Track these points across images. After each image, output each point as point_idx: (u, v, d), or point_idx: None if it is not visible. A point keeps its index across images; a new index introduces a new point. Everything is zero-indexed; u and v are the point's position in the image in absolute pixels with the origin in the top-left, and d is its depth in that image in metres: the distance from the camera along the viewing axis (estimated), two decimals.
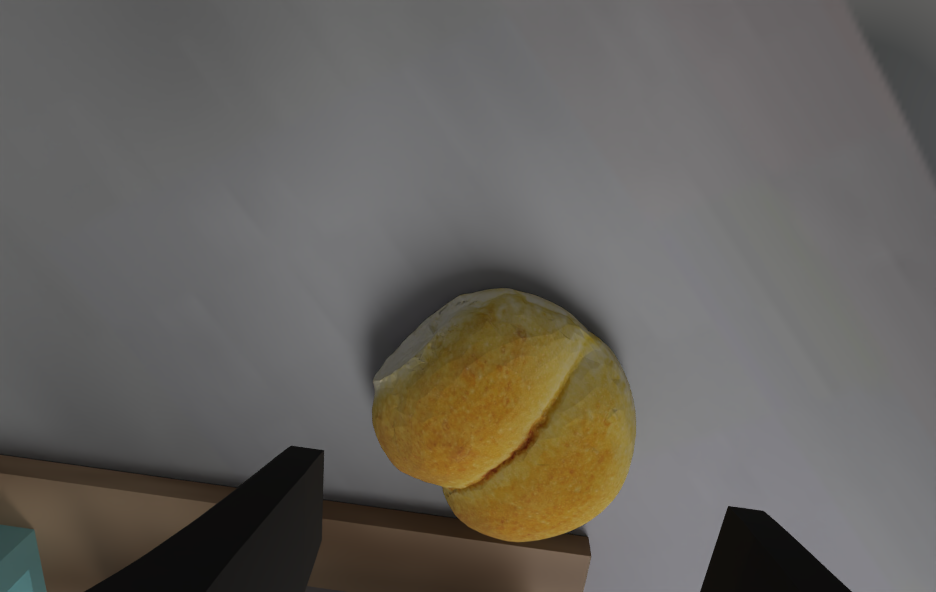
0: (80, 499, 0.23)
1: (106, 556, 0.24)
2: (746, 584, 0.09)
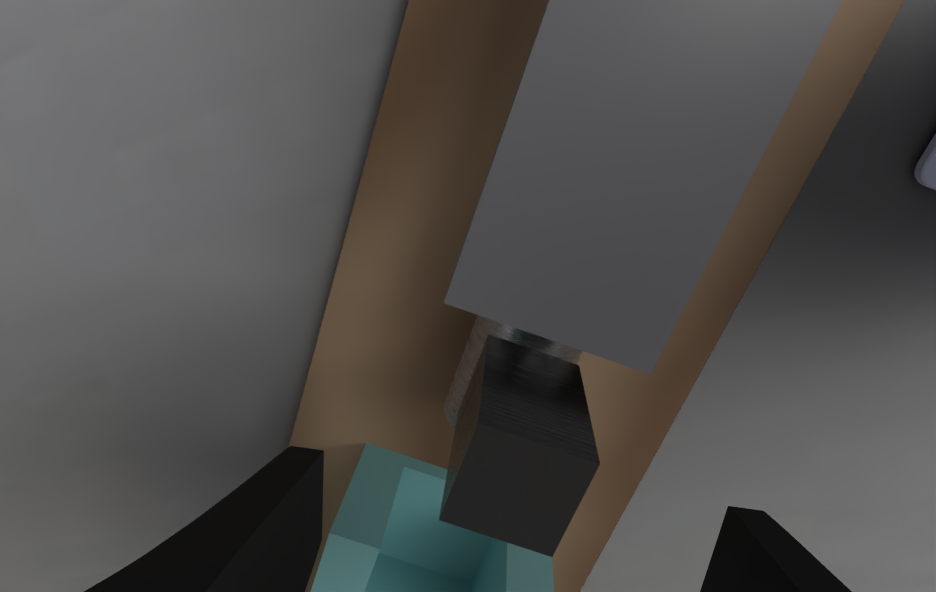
0: (330, 374, 0.20)
1: (414, 382, 0.20)
2: (746, 584, 0.09)
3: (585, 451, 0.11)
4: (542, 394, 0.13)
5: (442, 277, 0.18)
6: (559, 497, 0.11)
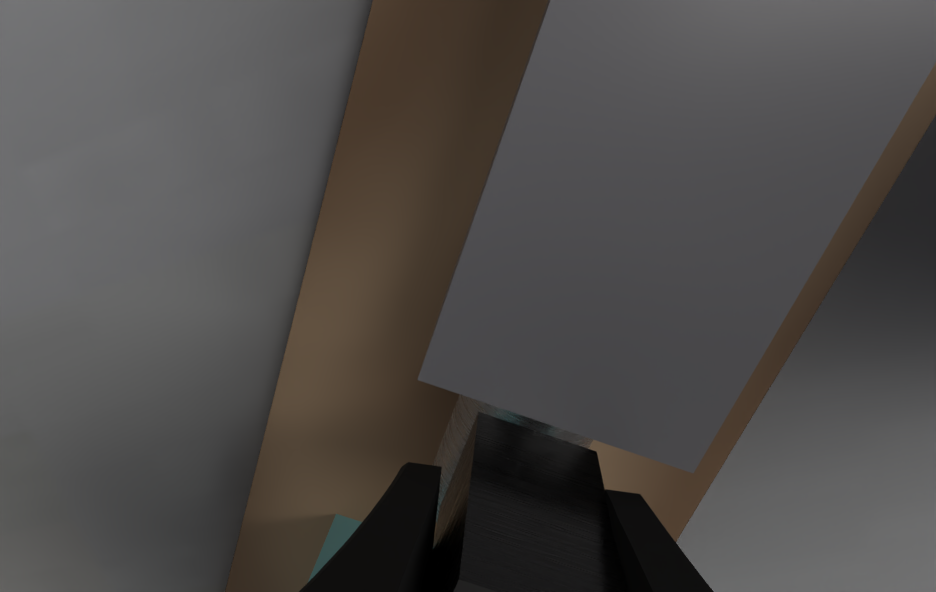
0: (291, 434, 0.17)
1: (391, 445, 0.16)
2: None
3: None
4: (550, 511, 0.09)
5: (425, 321, 0.15)
6: None
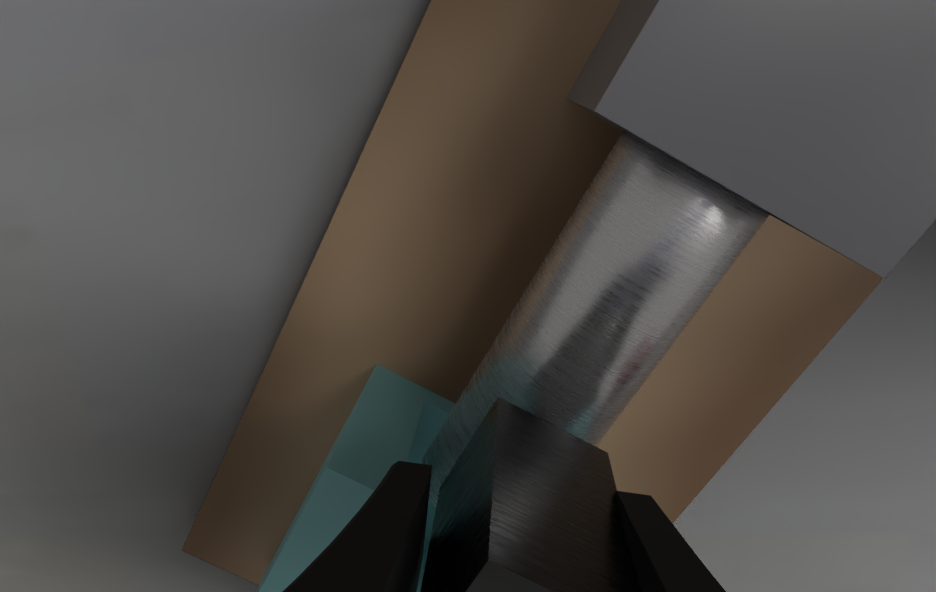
0: (345, 261, 0.15)
1: (457, 289, 0.15)
2: None
3: None
4: (568, 505, 0.09)
5: (528, 143, 0.13)
6: None
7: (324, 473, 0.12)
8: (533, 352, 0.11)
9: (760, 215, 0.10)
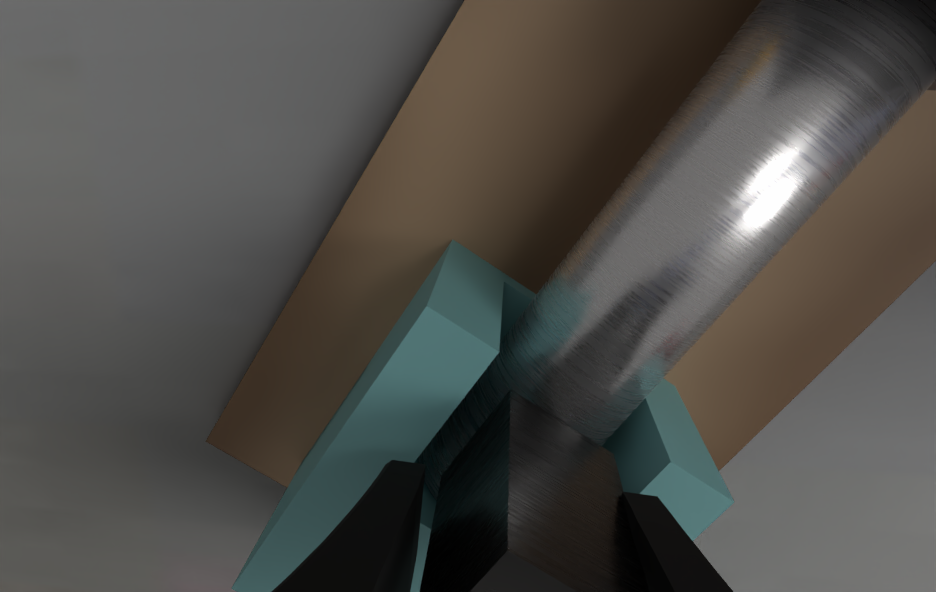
0: (435, 115, 0.13)
1: (555, 157, 0.13)
2: None
3: None
4: (580, 502, 0.09)
5: None
6: None
7: (422, 313, 0.10)
8: (549, 347, 0.11)
9: (790, 231, 0.10)
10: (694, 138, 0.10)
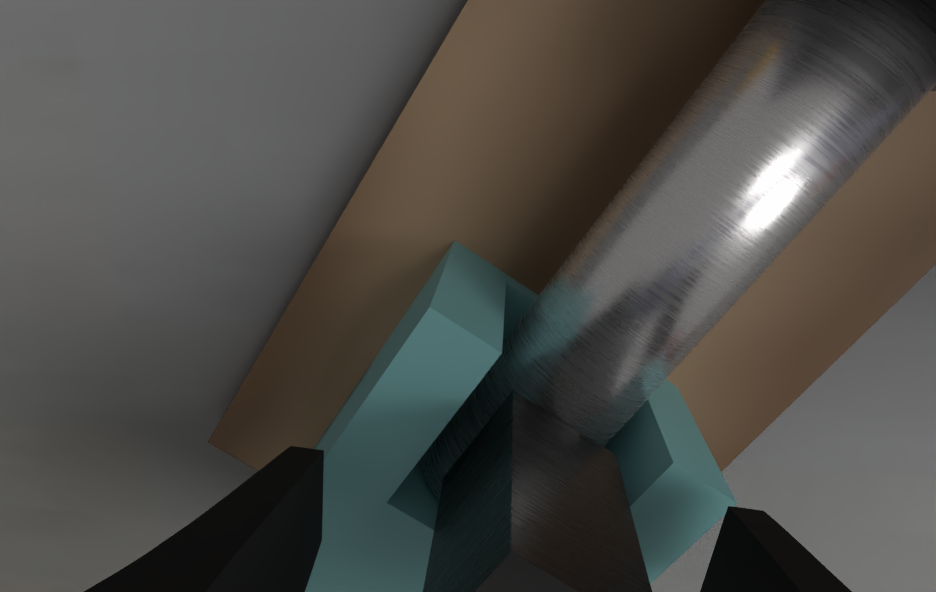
0: (437, 117, 0.13)
1: (557, 159, 0.13)
2: (746, 584, 0.09)
3: None
4: (583, 503, 0.09)
5: None
6: None
7: (425, 314, 0.10)
8: (552, 348, 0.11)
9: (793, 232, 0.10)
10: (698, 139, 0.10)
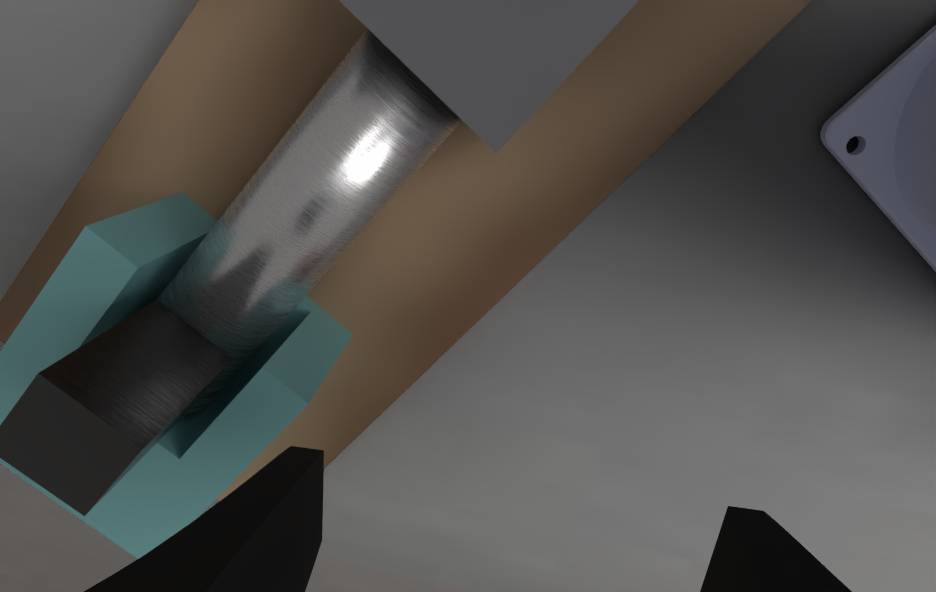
0: (170, 93, 0.17)
1: (260, 141, 0.17)
2: (746, 584, 0.09)
3: (139, 434, 0.12)
4: (152, 371, 0.13)
5: (333, 29, 0.16)
6: (100, 466, 0.12)
7: (83, 231, 0.14)
8: (191, 274, 0.15)
9: (351, 214, 0.14)
10: (288, 138, 0.14)
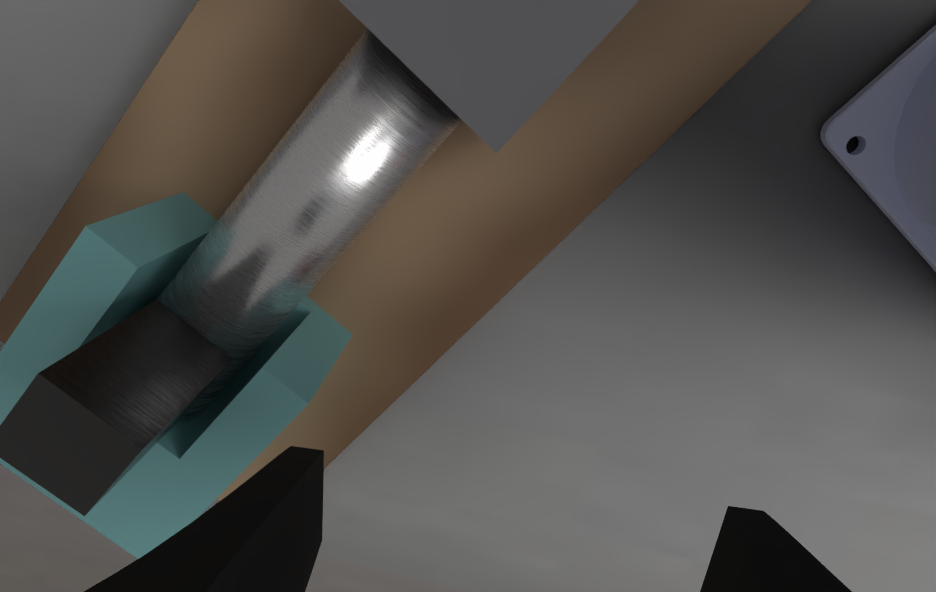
0: (170, 93, 0.17)
1: (260, 141, 0.17)
2: (746, 584, 0.09)
3: (139, 434, 0.12)
4: (152, 371, 0.13)
5: (333, 29, 0.16)
6: (100, 466, 0.12)
7: (83, 231, 0.14)
8: (191, 274, 0.15)
9: (351, 214, 0.14)
10: (288, 138, 0.14)
